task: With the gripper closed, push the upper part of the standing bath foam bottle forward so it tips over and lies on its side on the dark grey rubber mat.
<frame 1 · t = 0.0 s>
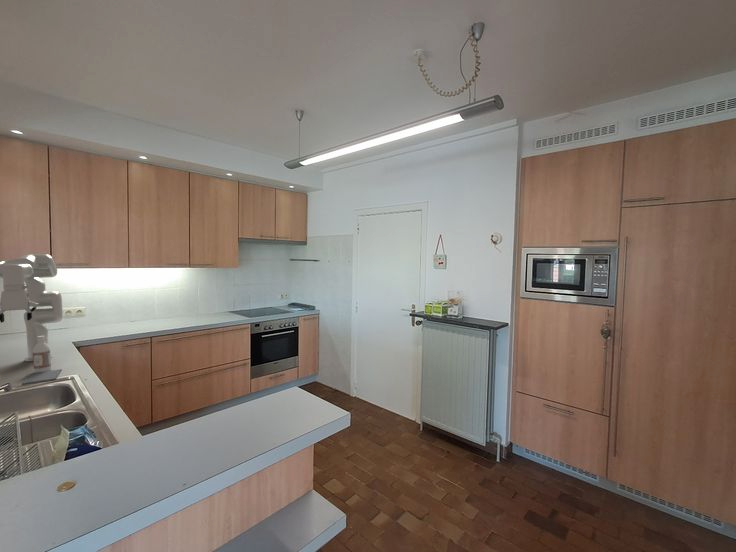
hand: (16, 321, 173), 31 cm above the counter, tool pointing down, fingers open, 9 cm apart
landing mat: (42, 377, 179), on the counter
bath foam: (42, 371, 188), on the counter
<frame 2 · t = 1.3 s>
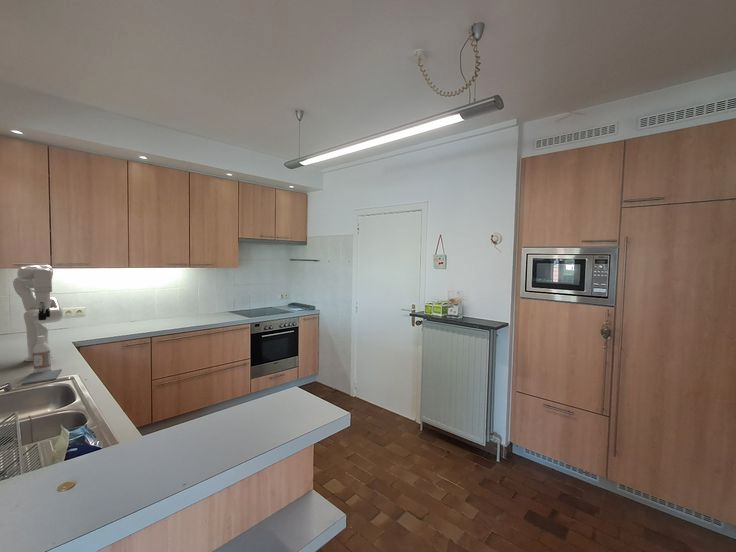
hand: (44, 318, 197), 28 cm above the counter, tool pointing down, fingers open, 9 cm apart
nothing on the counter moved.
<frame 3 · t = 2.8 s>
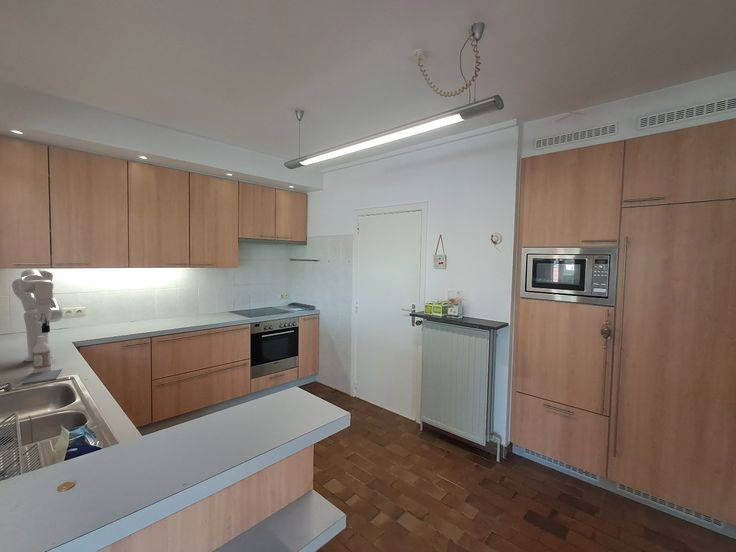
hand: (46, 332, 197), 20 cm above the counter, tool pointing down, fingers closed
nothing on the counter moved.
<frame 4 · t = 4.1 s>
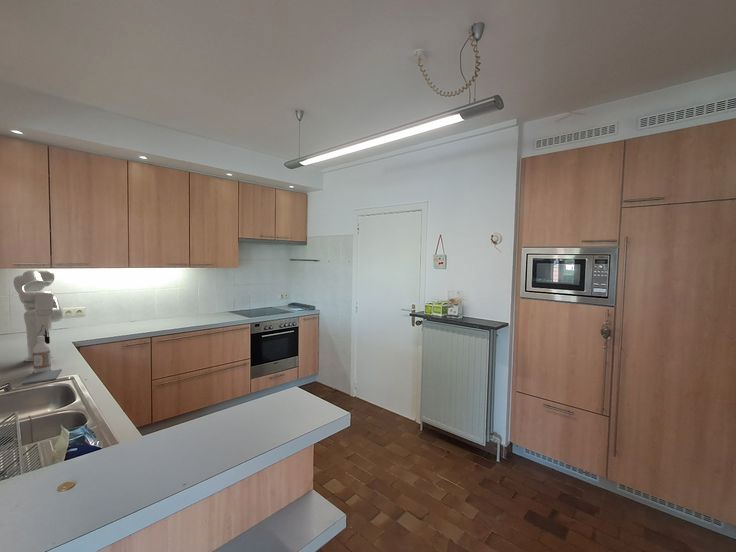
hand: (45, 343, 197), 13 cm above the counter, tool pointing down, fingers closed
nothing on the counter moved.
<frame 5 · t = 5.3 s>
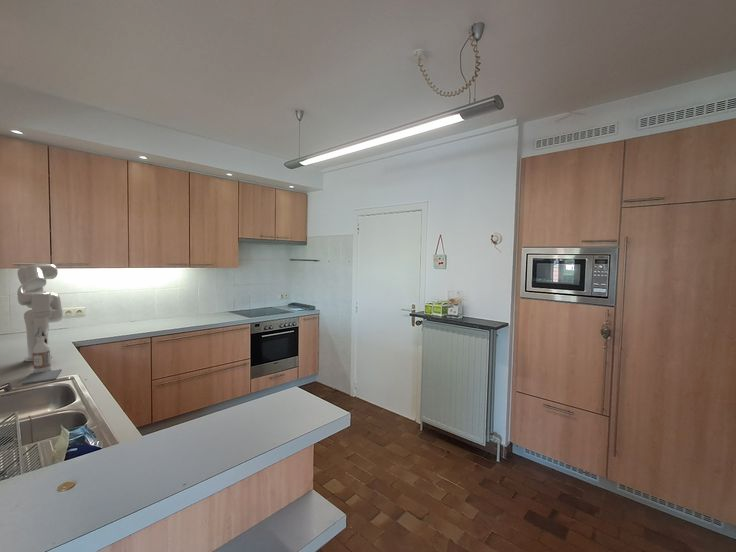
hand: (43, 346, 190), 13 cm above the counter, tool pointing down, fingers closed
bath foam: (42, 371, 188), on the counter, touching gripper
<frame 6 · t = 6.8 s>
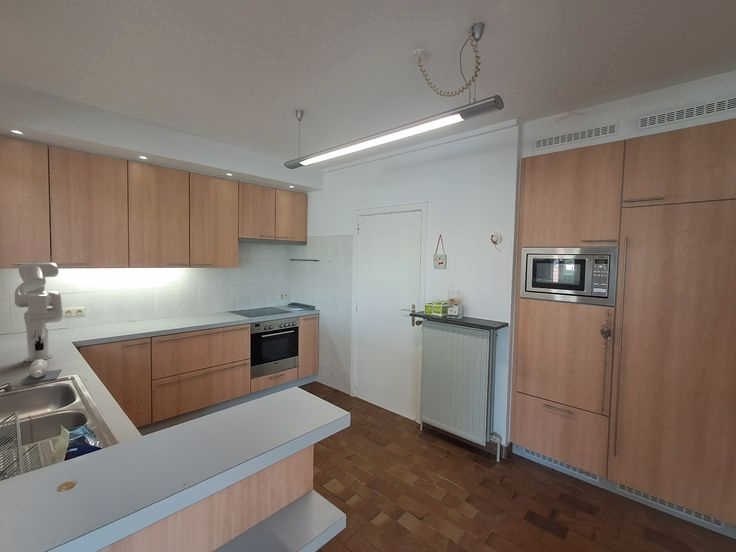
hand: (39, 350, 184), 13 cm above the counter, tool pointing down, fingers closed
bath foam: (39, 365, 185), point 4 cm above the counter, touching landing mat
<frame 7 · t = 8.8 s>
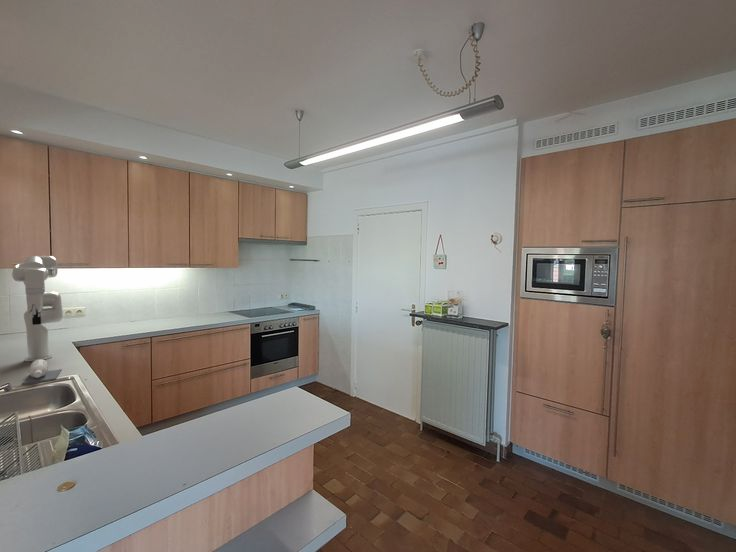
hand: (36, 324, 184), 27 cm above the counter, tool pointing down, fingers closed
nothing on the counter moved.
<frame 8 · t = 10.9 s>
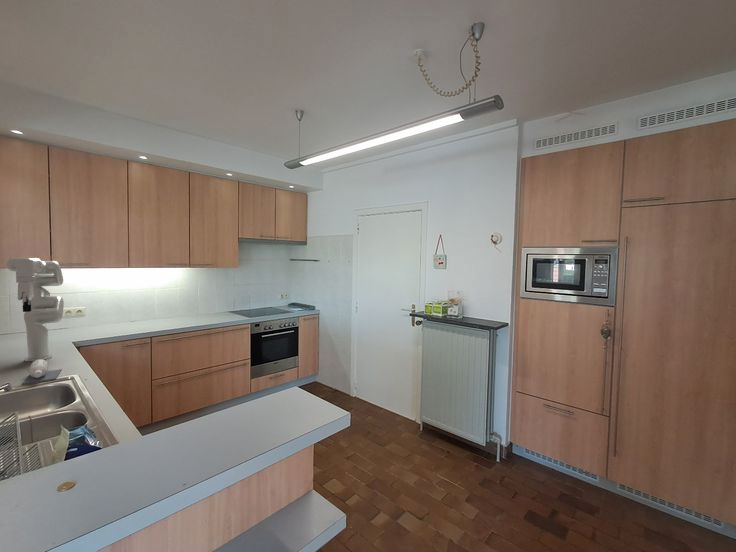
hand: (27, 311, 191), 33 cm above the counter, tool pointing down, fingers closed
nothing on the counter moved.
at the end: bath foam tilted 90°; bath foam touching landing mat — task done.
